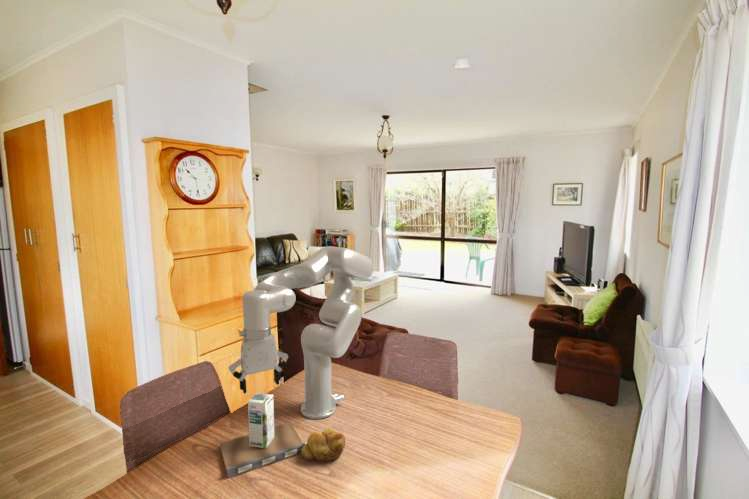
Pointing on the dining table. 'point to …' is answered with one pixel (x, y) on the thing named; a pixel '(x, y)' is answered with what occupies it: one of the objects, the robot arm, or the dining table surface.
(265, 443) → the syrup box
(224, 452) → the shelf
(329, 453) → the bread roll
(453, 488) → the dining table surface
